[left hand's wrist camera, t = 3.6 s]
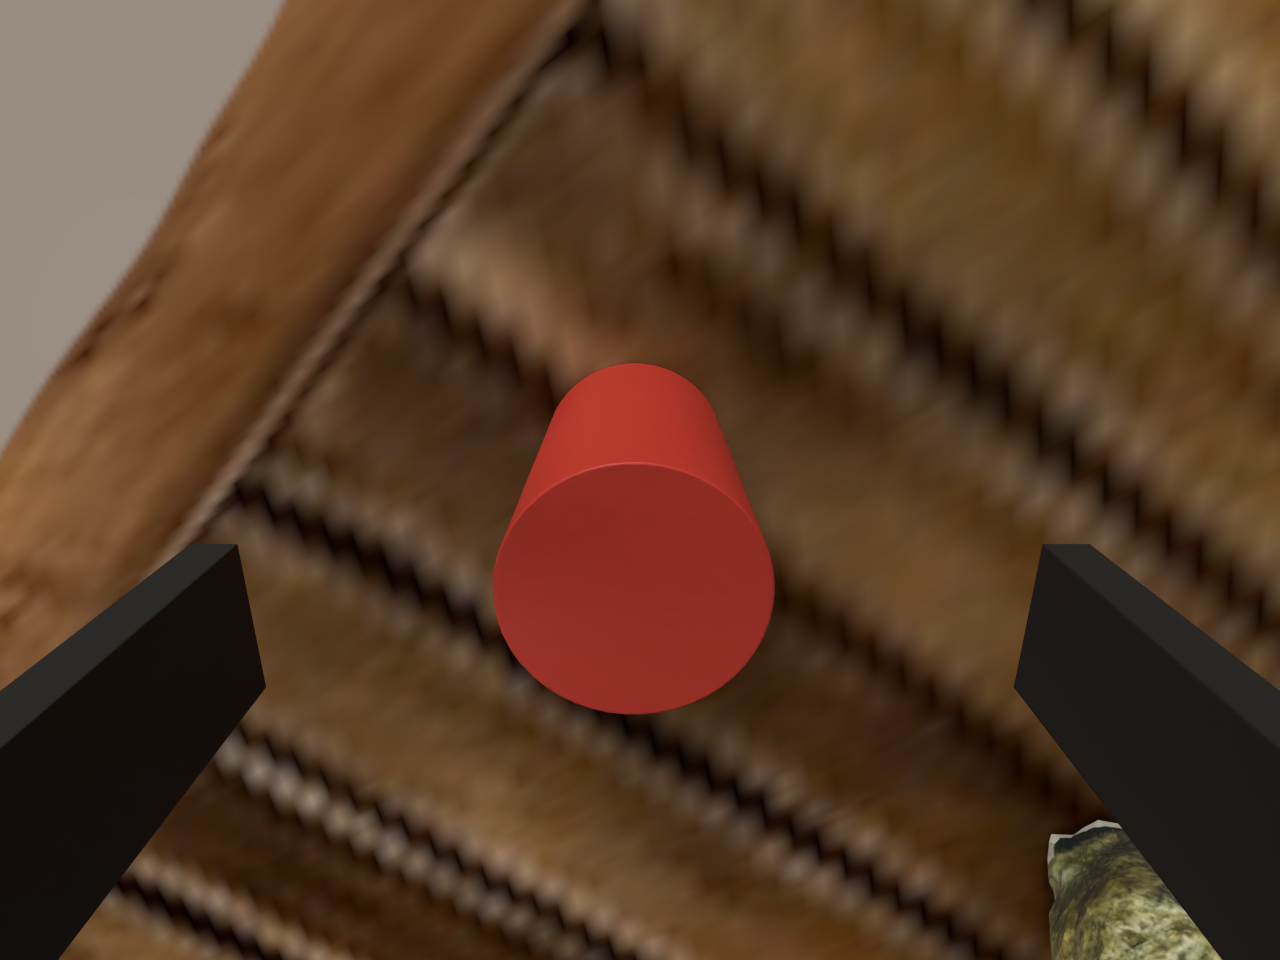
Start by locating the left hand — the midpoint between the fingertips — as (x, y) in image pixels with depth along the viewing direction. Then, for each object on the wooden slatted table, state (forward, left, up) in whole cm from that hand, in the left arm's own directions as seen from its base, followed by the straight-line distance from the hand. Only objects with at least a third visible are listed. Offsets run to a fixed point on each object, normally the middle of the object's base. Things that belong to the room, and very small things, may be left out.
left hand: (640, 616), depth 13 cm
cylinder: (0, 0, -11) cm, 11 cm away
